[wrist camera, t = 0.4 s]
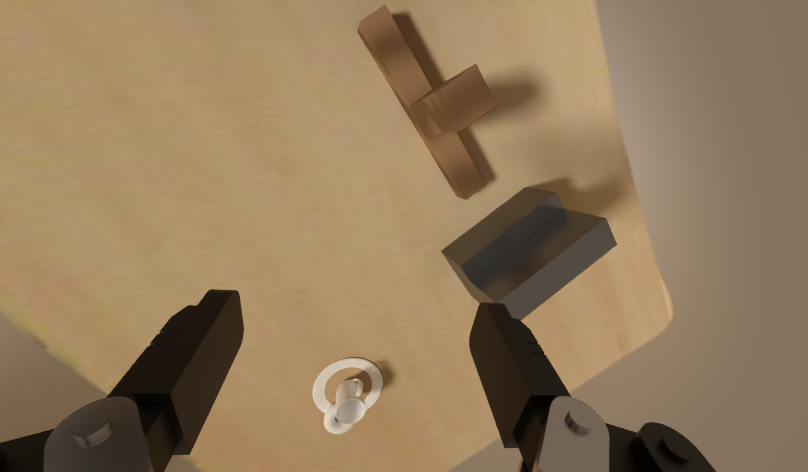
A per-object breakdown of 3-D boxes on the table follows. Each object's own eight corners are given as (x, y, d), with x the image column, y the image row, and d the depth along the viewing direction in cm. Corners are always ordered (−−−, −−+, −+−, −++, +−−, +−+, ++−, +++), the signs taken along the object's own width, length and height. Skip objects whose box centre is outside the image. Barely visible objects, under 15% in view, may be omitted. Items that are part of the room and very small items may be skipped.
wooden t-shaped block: (354, 34, 28) (373, -32, 18) (381, 15, 28) (415, -61, 18) (454, 197, 34) (509, 215, 24) (476, 181, 34) (539, 192, 24)
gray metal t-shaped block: (470, 295, 37) (521, 342, 28) (441, 251, 35) (485, 286, 25) (548, 234, 38) (623, 261, 29) (524, 187, 36) (598, 199, 26)
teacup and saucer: (343, 429, 38) (345, 460, 34) (292, 397, 35) (288, 426, 31) (395, 379, 38) (403, 404, 34) (348, 342, 35) (352, 365, 31)
